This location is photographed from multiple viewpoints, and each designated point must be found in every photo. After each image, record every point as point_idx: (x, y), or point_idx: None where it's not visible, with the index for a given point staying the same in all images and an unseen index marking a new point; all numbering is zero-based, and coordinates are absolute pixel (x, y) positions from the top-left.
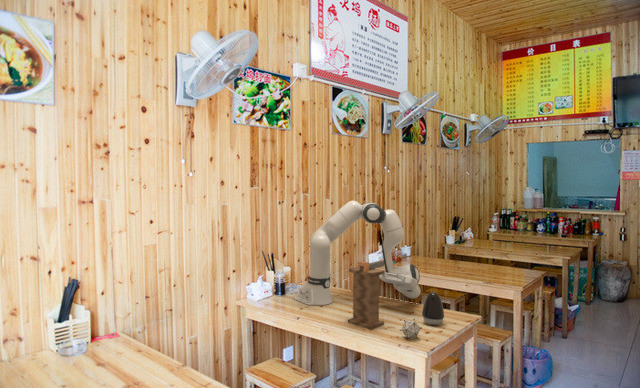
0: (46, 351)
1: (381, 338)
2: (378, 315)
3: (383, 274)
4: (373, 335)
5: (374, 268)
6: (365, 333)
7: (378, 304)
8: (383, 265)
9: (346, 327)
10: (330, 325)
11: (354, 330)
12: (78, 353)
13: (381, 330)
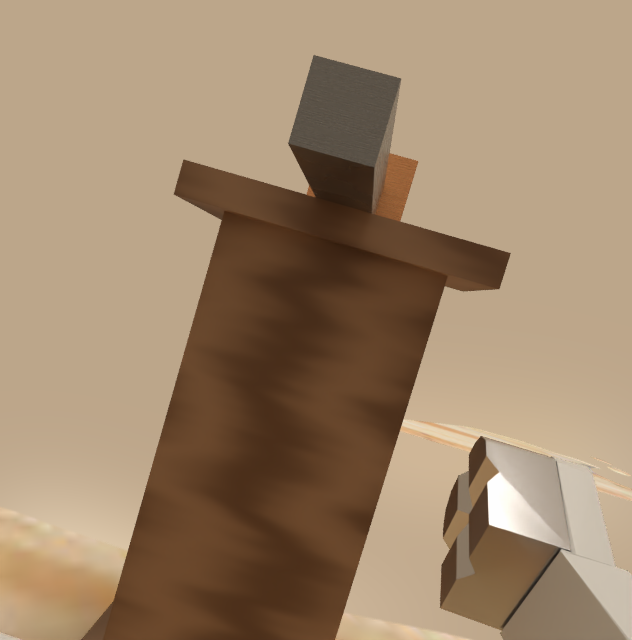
0: (621, 473)
1: (28, 532)
2: (105, 634)
3: (454, 547)
4: (85, 555)
5: (315, 195)
6: None
7: (137, 526)
8: (295, 136)
9: None
10: (388, 628)
11: None
12: None
13: (36, 620)
